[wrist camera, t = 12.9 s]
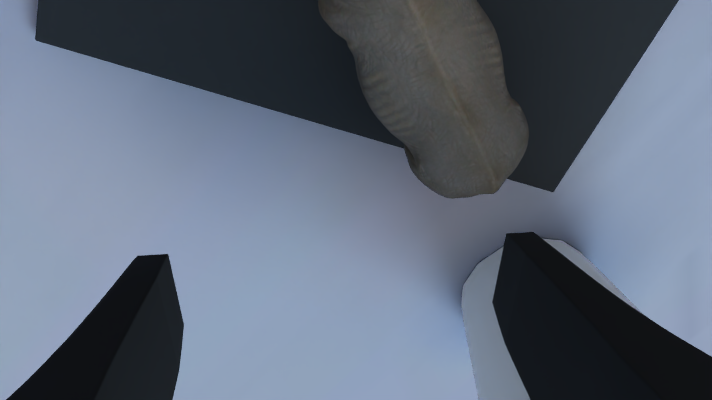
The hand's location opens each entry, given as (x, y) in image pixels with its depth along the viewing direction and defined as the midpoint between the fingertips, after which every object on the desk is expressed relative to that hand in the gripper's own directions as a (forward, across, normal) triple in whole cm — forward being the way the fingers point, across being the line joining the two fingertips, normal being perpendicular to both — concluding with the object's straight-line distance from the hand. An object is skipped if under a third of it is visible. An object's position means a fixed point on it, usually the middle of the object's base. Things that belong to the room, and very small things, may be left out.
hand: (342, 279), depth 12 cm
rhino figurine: (+10, -2, -4) cm, 11 cm away
